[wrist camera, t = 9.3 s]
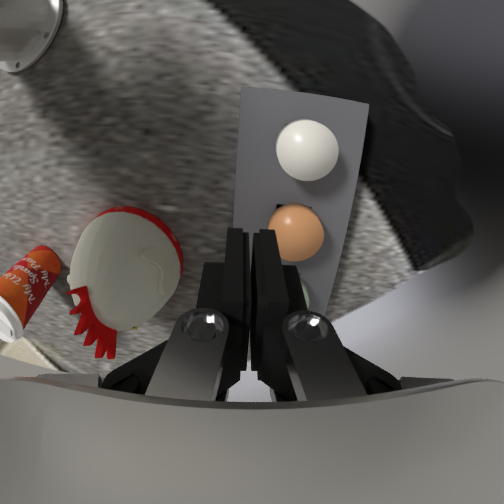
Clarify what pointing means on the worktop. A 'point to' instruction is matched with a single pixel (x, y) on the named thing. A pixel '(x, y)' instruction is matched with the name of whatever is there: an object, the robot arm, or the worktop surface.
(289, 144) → the button ivory
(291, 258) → the button terracotta
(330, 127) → the console
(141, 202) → the worktop surface
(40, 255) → the paper cup
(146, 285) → the white rounded crested piece
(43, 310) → the worktop surface
